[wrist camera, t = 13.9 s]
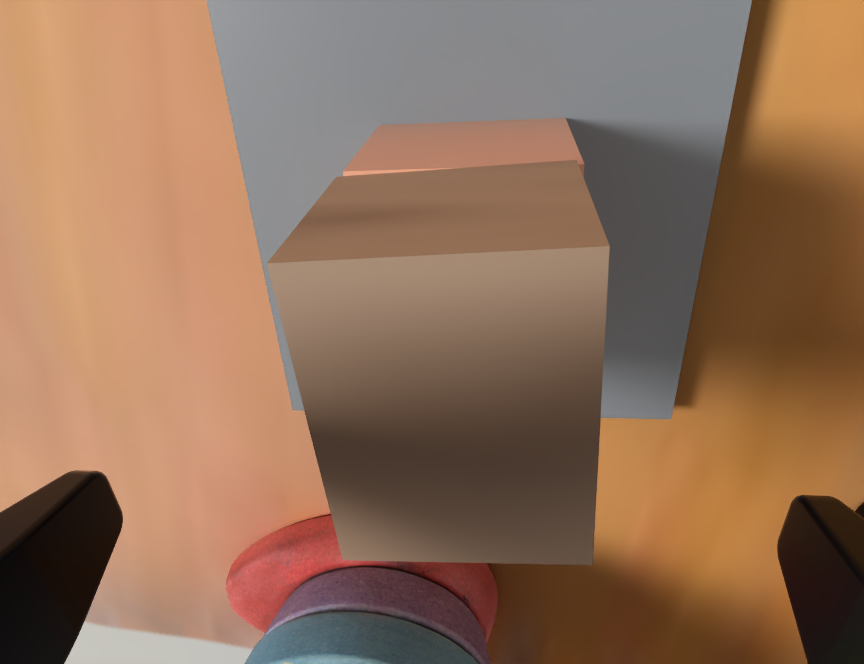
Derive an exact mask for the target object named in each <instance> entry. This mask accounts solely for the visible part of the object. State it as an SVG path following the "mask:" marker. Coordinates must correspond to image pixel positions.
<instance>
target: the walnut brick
mask: <svg viewBox="0 0 864 664" xmlns="http://www.w3.org/2000/svg"><path fill="white" fill-rule="evenodd" d="M609 250H610V246H609V243H608V240H607V238H606V235H605V232H604V230H603V227H602V225H601V222H600V219H599V217H598V214H597V211H596V209H595V206H594V204H593V201H592V198H591V196H590V193H589V190H588V188H587V185H586V183H585V180H584V177H583V175H582V172H581V170H580V167H579V164H578V162H577V160H568V161H553V162H539V163H524V164H510V165H496V166H481V167H467V168H453V169H438V170H424V171H410V172H395V173H381V174H367V175H352V176H338V177H336V178H335V179H334V180H333V181H332V183H331V184H330V185H329V186H328V188H327V189H326V190H325V191H324V193H323V194H322V195H321V196H320V198H319V199H318V200H317V201H316V203H315V204H314V205H313V206H312V208H311V209H310V210H309V211H308V213H307V214H306V215H305V216H304V218H303V219H302V220H301V221H300V223H299V224H298V225H297V226H296V228H295V229H294V230H293V231H292V232H291V234H290V235H289V236H288V237H287V239H286V240H285V241H284V242H283V244H282V245H281V246H280V247H279V249H278V250H277V251H276V252H275V254H274V255H273V256H272V257H271V259H270V260H269V261H268V262H267V267H268V271H269V274H270V278H271V282H272V286H273V290H274V294H275V298H276V302H277V306H278V310H279V313H280V317H281V321H282V325H283V329H284V333H285V337H286V341H287V345H288V348H289V352H290V356H291V360H292V364H293V368H294V372H295V376H296V380H297V383H298V387H299V391H300V395H301V399H302V403H303V407H304V411H305V415H306V419H307V422H308V426H309V430H310V434H311V438H312V442H313V446H314V450H315V454H316V457H317V461H318V465H319V469H320V473H321V477H322V481H323V485H324V489H325V493H326V496H327V500H328V504H329V508H330V512H331V516H332V520H333V524H334V528H335V531H336V535H337V539H338V543H339V547H340V551H341V555H342V559H343V560H354V561H405V562H455V563H506V564H557V565H593V547H594V529H595V510H596V492H597V473H598V455H599V436H600V417H601V399H602V380H603V362H604V343H605V325H606V306H607V288H608V269H609Z"/></svg>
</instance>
